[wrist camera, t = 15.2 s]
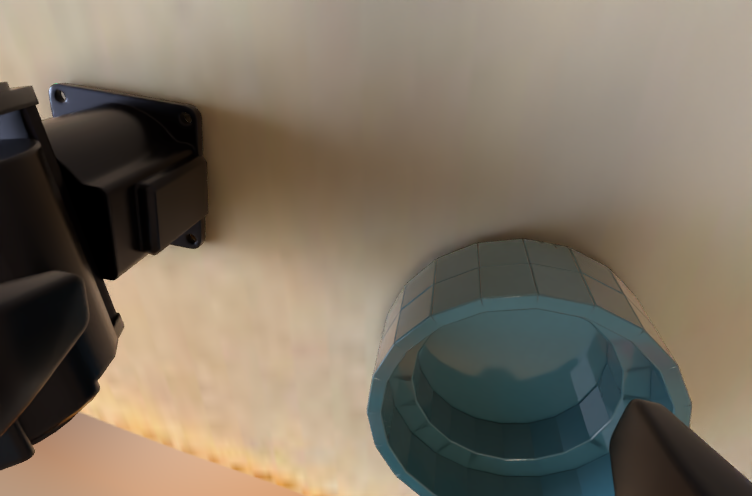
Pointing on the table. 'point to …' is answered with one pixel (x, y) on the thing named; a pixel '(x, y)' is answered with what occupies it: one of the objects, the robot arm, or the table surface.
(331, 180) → the table surface
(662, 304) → the table surface
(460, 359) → the bowl
